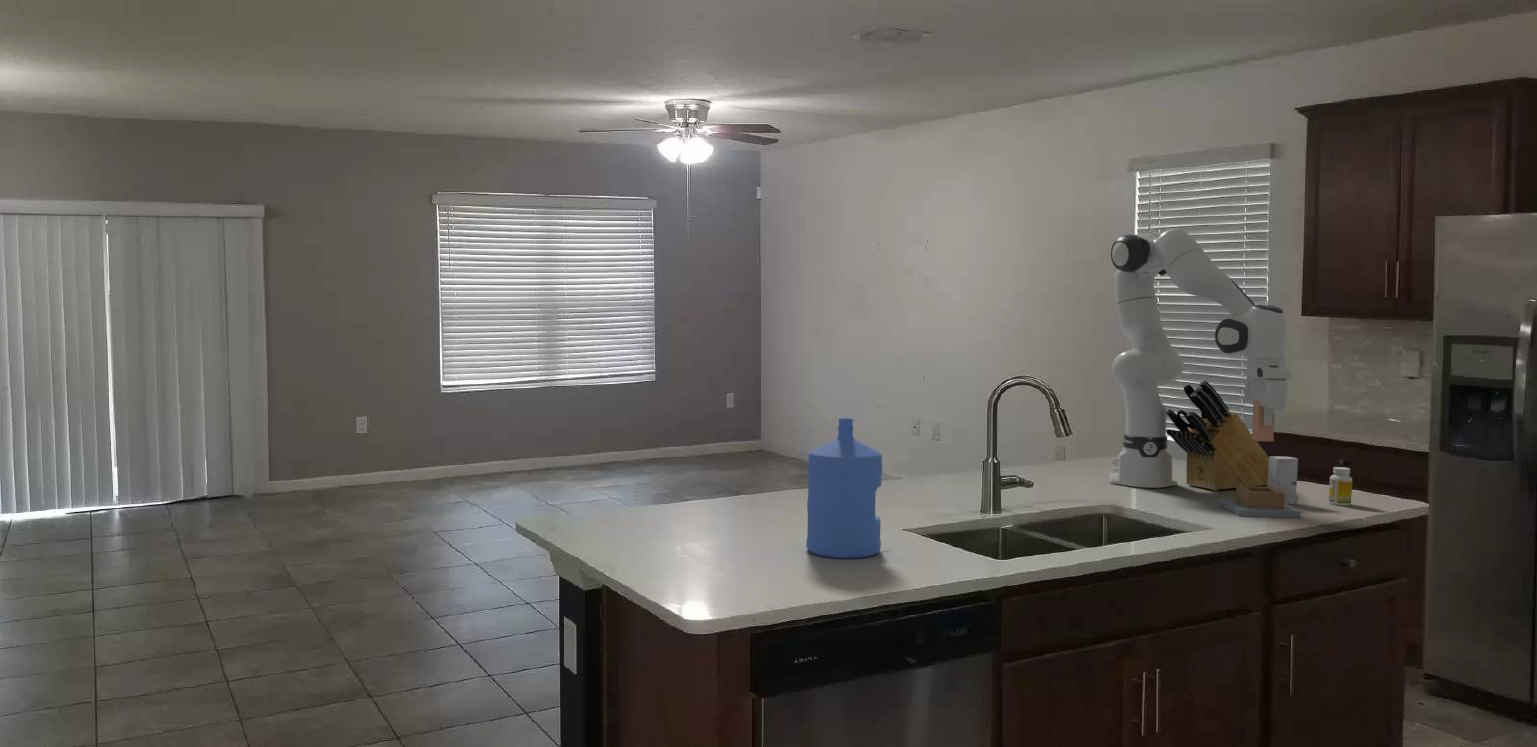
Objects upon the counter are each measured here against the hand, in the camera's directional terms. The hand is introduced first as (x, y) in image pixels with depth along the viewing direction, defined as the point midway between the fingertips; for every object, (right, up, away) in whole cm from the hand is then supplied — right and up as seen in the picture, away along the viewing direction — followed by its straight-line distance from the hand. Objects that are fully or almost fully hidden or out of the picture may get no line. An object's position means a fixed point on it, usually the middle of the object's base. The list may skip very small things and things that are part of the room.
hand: (1263, 424), depth 299 cm
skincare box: (+11, -22, +14) cm, 28 cm away
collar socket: (0, -22, +2) cm, 22 cm away
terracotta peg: (0, -4, 0) cm, 4 cm away
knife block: (+4, -20, +38) cm, 43 cm away
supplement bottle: (+26, -22, +13) cm, 36 cm away
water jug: (-109, -25, -49) cm, 123 cm away
